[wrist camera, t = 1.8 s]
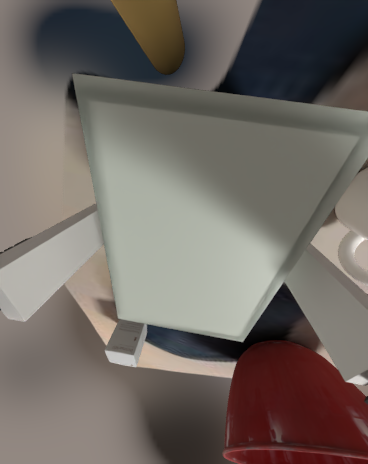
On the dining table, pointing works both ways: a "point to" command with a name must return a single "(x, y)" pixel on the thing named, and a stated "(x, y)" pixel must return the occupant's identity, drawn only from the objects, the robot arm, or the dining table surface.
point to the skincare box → (126, 343)
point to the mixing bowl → (293, 409)
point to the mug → (354, 224)
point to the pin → (155, 30)
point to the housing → (210, 195)
